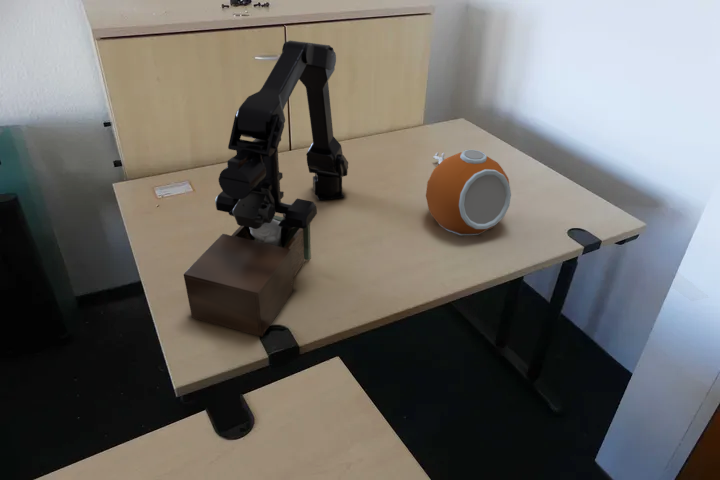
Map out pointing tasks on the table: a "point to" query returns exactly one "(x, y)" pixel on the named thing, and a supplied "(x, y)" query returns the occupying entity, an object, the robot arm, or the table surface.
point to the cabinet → (240, 284)
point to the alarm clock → (468, 193)
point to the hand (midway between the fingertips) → (268, 242)
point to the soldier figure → (439, 157)
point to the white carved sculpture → (268, 233)
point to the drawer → (289, 244)
